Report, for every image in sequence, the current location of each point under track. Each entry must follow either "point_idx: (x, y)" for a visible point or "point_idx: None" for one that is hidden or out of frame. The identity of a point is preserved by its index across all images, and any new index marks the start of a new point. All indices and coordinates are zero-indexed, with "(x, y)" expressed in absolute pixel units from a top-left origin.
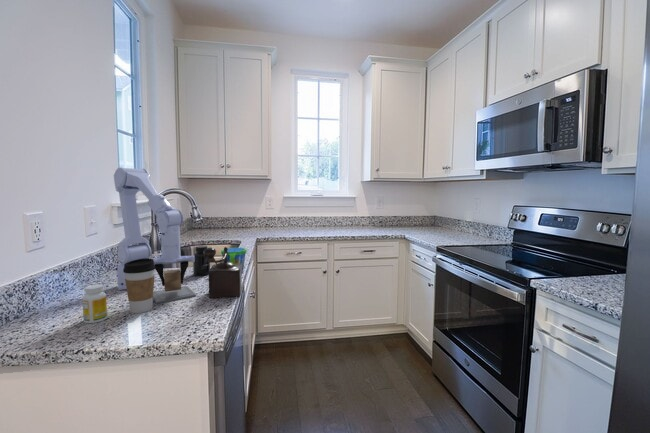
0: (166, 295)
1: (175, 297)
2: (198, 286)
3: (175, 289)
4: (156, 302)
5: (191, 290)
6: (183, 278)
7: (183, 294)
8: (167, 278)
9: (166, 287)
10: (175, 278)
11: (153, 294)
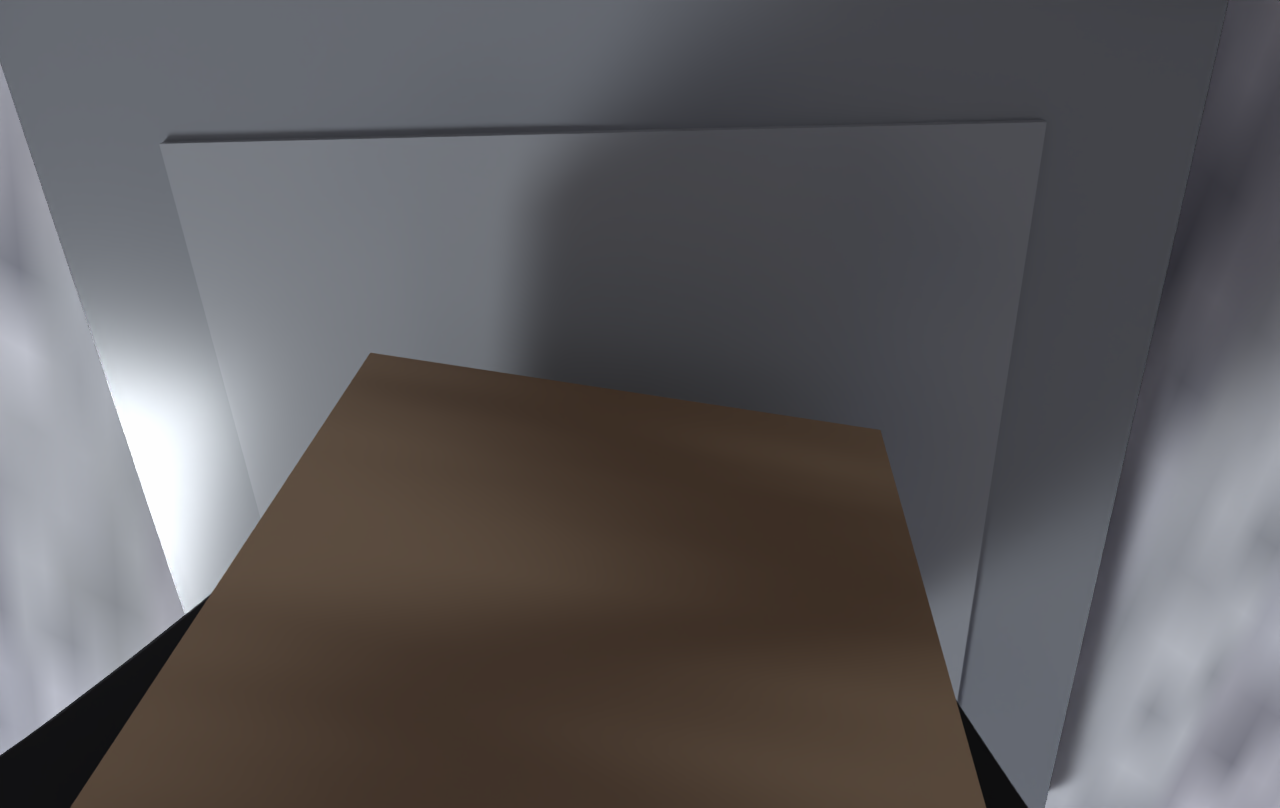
0: (808, 400)
1: (613, 77)
2: (17, 720)
3: (545, 396)
4: (1203, 29)
5: (135, 453)
6: (99, 687)
7: (356, 211)
8: (827, 791)
9: (838, 507)
10: (432, 688)
11: (1044, 668)
